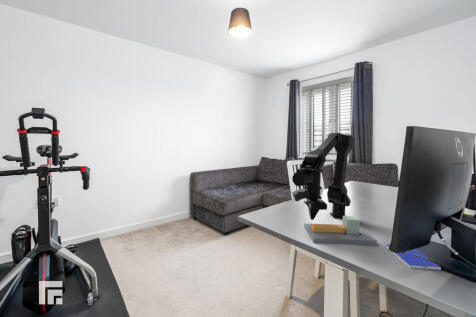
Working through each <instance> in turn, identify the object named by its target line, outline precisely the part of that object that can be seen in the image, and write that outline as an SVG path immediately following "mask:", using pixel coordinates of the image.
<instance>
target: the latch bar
mask: <svg viewBox="0 0 476 317" xmlns="http://www.w3.org/2000/svg"><path fill="white" fill-rule="evenodd" d="M310 224H311V229H312V231H313V232H334V233H345V232H346V228H345V227H344V226H343V225H342V224H332V223H331V224H329V223H328V224H327V223H322V224H321V223H310Z"/></svg>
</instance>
